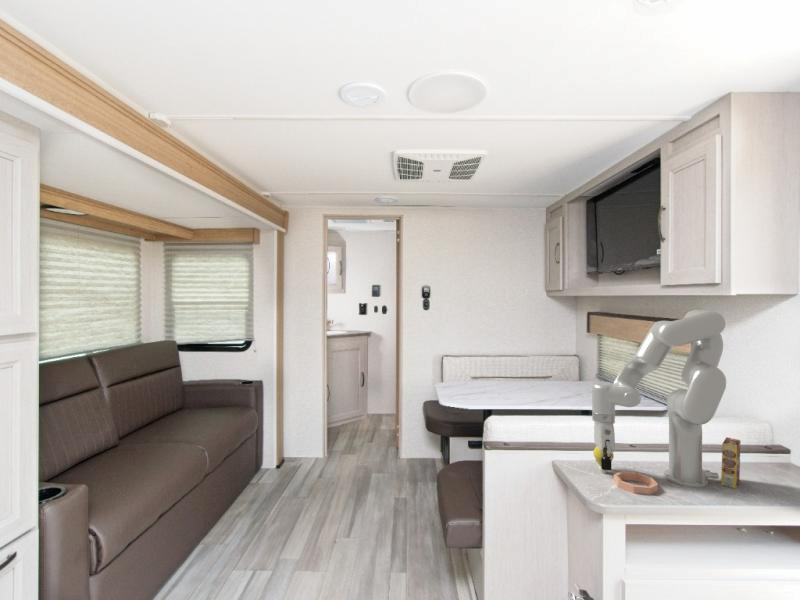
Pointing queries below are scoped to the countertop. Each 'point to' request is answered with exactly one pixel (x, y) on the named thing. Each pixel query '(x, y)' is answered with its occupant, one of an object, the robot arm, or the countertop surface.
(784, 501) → the countertop surface
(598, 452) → the light bulb
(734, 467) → the candy box
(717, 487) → the countertop surface
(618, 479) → the terracotta ring
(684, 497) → the countertop surface
